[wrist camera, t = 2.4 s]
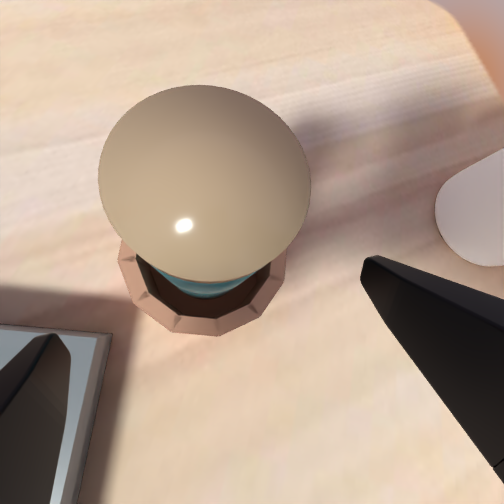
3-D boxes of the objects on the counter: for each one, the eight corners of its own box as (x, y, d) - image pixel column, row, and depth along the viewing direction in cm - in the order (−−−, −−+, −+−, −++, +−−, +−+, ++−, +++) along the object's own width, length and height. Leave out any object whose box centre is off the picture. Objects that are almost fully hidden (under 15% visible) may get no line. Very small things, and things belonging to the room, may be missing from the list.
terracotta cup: (272, 215, 20) (291, 189, 16) (261, 334, 18) (279, 342, 14) (153, 196, 19) (139, 162, 14) (128, 321, 17) (103, 325, 13)
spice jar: (246, 233, 19) (315, 108, 7) (238, 303, 18) (305, 291, 6) (175, 222, 18) (123, 64, 6) (162, 295, 17) (73, 263, 5)
